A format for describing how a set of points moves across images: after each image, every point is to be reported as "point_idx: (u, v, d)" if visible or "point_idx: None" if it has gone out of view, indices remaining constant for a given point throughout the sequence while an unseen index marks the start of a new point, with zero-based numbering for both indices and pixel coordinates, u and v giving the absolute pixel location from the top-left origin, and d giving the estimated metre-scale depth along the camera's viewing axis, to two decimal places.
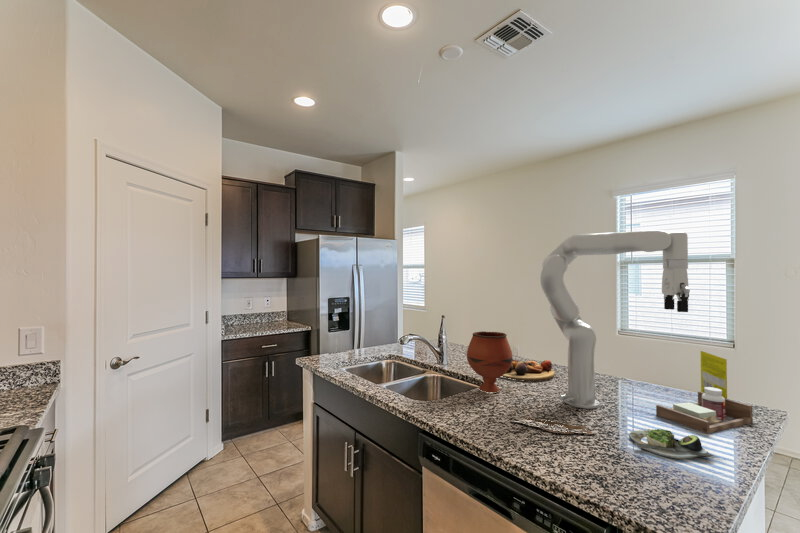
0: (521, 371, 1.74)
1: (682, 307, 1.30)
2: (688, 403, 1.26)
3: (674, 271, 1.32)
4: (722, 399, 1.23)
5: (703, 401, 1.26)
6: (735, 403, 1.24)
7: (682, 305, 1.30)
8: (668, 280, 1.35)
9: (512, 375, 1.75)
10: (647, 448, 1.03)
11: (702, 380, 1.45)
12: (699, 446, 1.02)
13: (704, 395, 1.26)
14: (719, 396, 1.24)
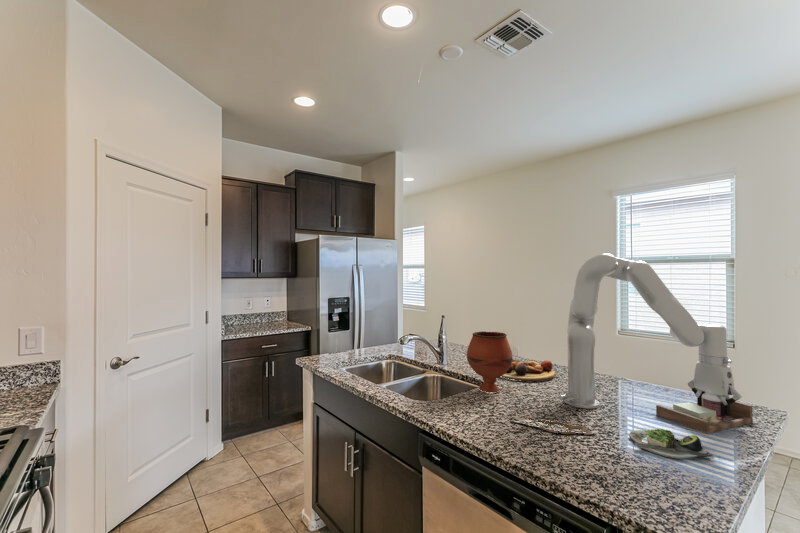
0: (521, 371, 1.74)
1: None
2: (688, 403, 1.26)
3: None
4: None
5: (703, 401, 1.26)
6: (735, 403, 1.24)
7: None
8: None
9: (512, 375, 1.74)
10: (647, 448, 1.03)
11: None
12: (699, 446, 1.02)
13: (704, 395, 1.26)
14: (719, 396, 1.24)
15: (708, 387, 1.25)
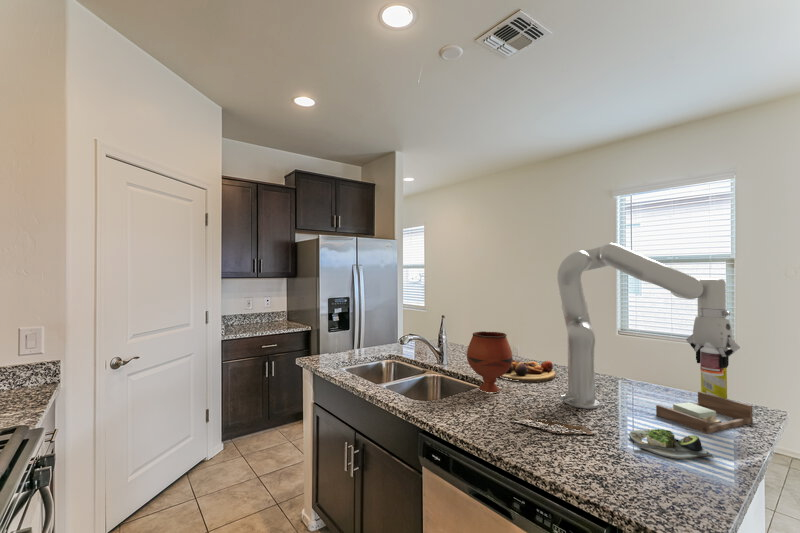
0: (521, 371, 1.73)
1: None
2: (688, 403, 1.26)
3: None
4: None
5: (702, 354, 1.27)
6: (735, 403, 1.24)
7: None
8: None
9: (512, 376, 1.74)
10: (647, 448, 1.04)
11: (702, 380, 1.45)
12: (699, 446, 1.02)
13: (703, 348, 1.27)
14: None
15: (707, 341, 1.26)
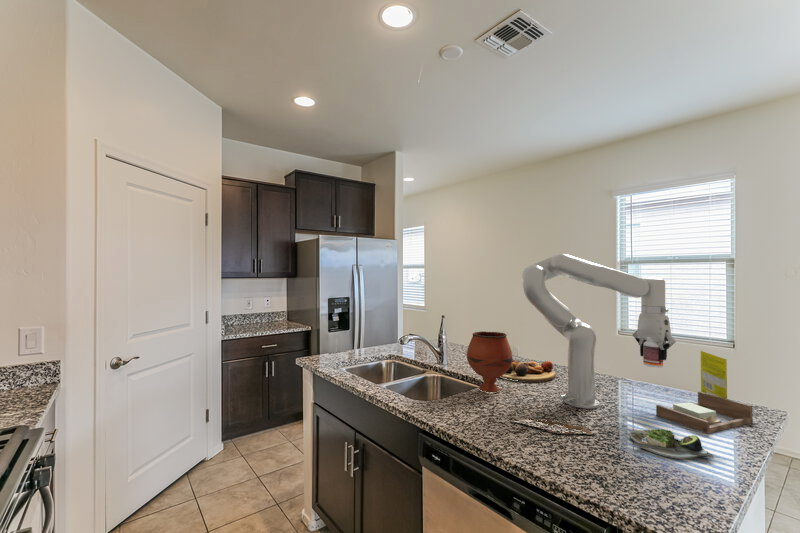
0: (521, 371, 1.73)
1: None
2: (688, 403, 1.26)
3: None
4: None
5: (644, 348, 1.38)
6: (735, 403, 1.24)
7: None
8: None
9: (512, 376, 1.74)
10: (646, 448, 1.04)
11: (702, 380, 1.45)
12: (699, 446, 1.02)
13: (645, 342, 1.38)
14: None
15: (649, 335, 1.37)
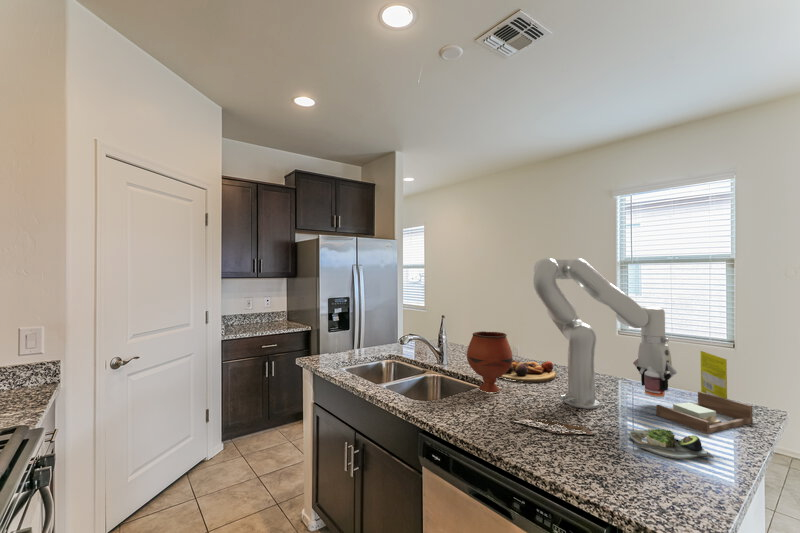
0: (522, 372, 1.72)
1: None
2: (688, 403, 1.26)
3: None
4: None
5: (645, 377, 1.37)
6: (735, 403, 1.24)
7: None
8: None
9: (512, 376, 1.73)
10: (646, 448, 1.04)
11: (702, 380, 1.45)
12: (699, 446, 1.02)
13: (646, 372, 1.38)
14: None
15: (649, 365, 1.37)
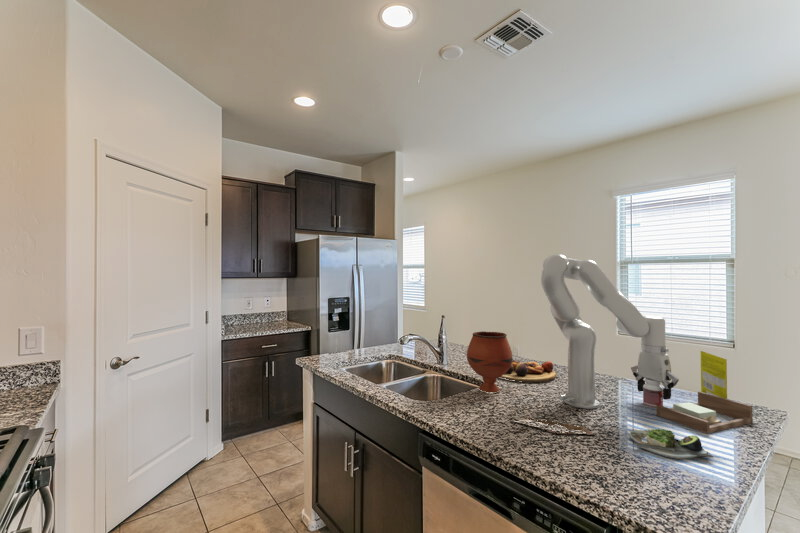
0: (522, 372, 1.72)
1: None
2: (688, 403, 1.26)
3: None
4: (660, 388, 1.34)
5: (644, 390, 1.38)
6: (735, 403, 1.24)
7: None
8: None
9: (512, 376, 1.73)
10: (646, 447, 1.04)
11: (702, 380, 1.45)
12: (699, 446, 1.02)
13: (645, 385, 1.38)
14: (657, 386, 1.35)
15: (649, 374, 1.36)
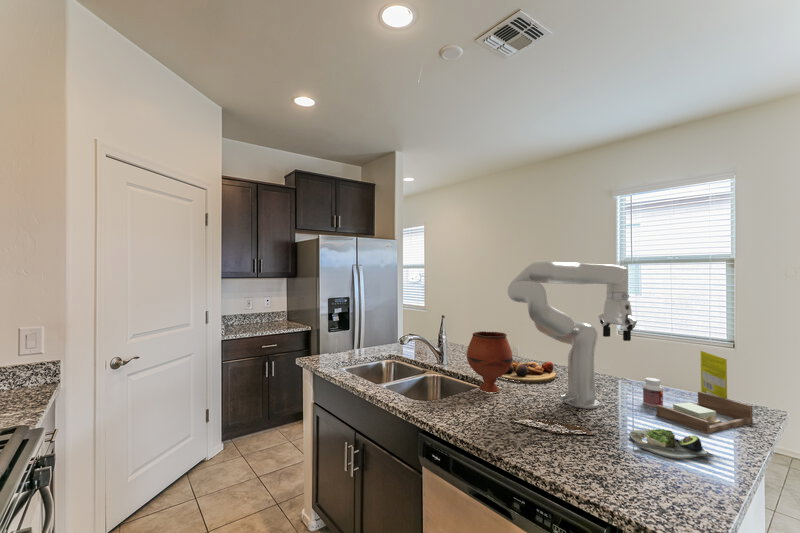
0: (522, 372, 1.72)
1: None
2: (688, 403, 1.26)
3: None
4: (660, 388, 1.34)
5: (644, 390, 1.38)
6: (735, 403, 1.24)
7: None
8: None
9: (512, 376, 1.72)
10: (646, 447, 1.04)
11: (702, 380, 1.45)
12: (699, 446, 1.02)
13: (645, 385, 1.38)
14: (657, 386, 1.35)
15: (612, 319, 1.48)
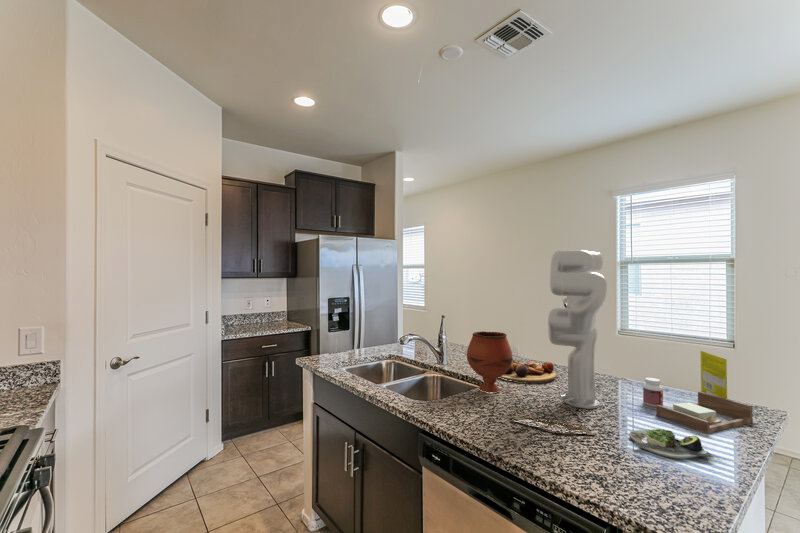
0: (522, 372, 1.71)
1: None
2: (688, 403, 1.26)
3: None
4: (660, 388, 1.34)
5: (644, 390, 1.38)
6: (735, 403, 1.24)
7: None
8: None
9: (512, 377, 1.72)
10: (646, 447, 1.04)
11: (702, 380, 1.45)
12: (699, 446, 1.02)
13: (645, 385, 1.38)
14: (657, 386, 1.35)
15: None
